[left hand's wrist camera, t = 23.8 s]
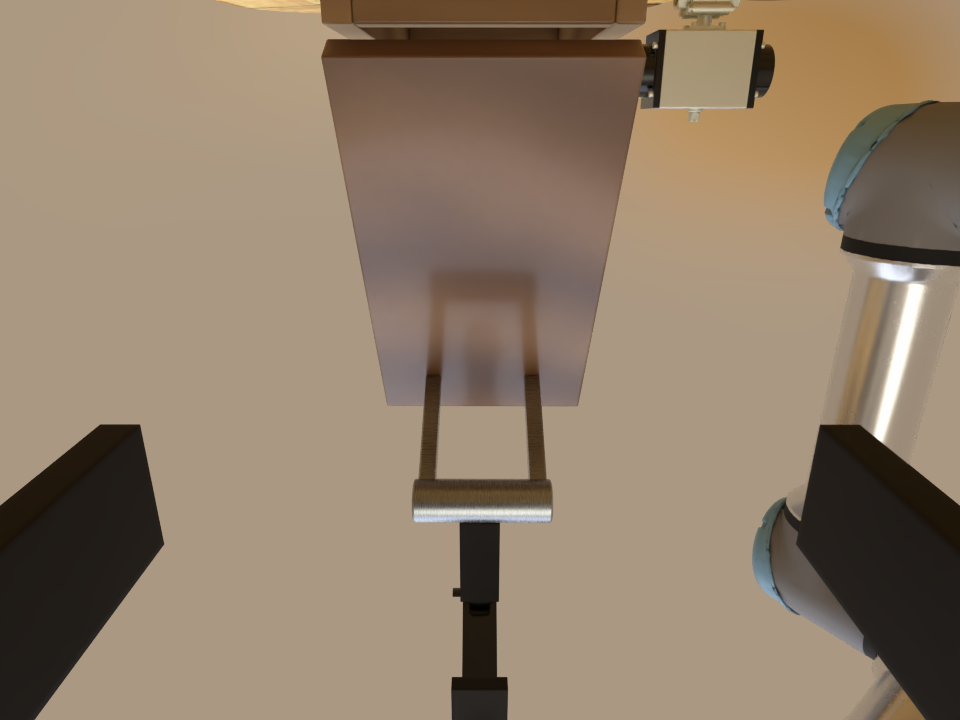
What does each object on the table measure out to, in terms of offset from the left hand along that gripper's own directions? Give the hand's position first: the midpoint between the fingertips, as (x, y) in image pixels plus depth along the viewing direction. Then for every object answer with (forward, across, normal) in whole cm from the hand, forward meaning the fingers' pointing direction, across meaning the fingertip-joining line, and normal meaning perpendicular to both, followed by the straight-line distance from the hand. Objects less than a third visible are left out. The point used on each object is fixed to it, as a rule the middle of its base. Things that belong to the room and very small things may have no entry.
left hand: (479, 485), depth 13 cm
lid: (+15, 0, -1) cm, 15 cm away
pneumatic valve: (+53, -20, -19) cm, 59 cm away
